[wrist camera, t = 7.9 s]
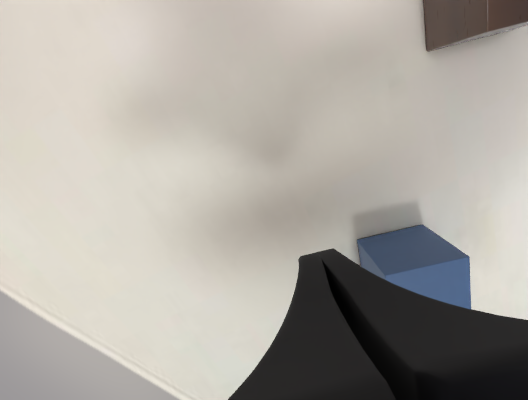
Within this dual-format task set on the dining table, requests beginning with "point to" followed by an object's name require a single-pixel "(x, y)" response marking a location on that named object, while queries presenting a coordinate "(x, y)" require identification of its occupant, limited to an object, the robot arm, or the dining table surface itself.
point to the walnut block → (470, 20)
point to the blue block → (419, 264)
